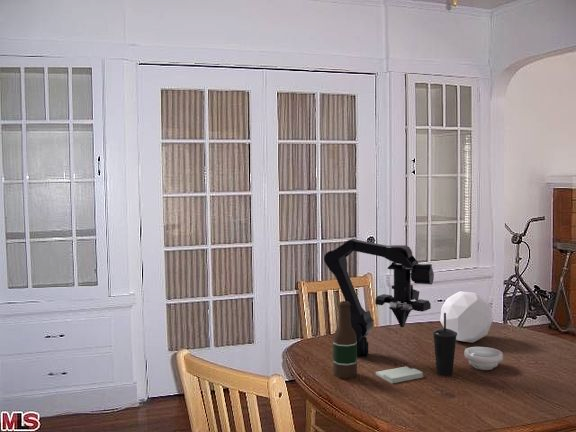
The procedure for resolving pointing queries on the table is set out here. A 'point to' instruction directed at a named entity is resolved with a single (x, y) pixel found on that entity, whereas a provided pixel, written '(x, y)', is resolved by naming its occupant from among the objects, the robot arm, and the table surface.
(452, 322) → the ball
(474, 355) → the bowl
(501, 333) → the table surface
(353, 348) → the beer bottle
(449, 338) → the drinking cup
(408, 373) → the napkin
